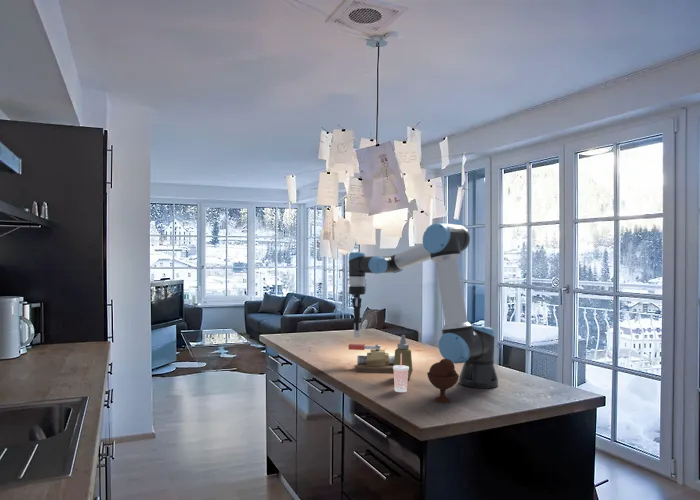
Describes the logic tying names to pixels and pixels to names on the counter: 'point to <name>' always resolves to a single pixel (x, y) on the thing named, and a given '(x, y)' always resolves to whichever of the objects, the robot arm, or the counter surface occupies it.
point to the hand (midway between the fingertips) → (357, 337)
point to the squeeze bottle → (403, 355)
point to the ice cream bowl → (443, 378)
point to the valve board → (374, 368)
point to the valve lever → (363, 347)
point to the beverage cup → (400, 377)
